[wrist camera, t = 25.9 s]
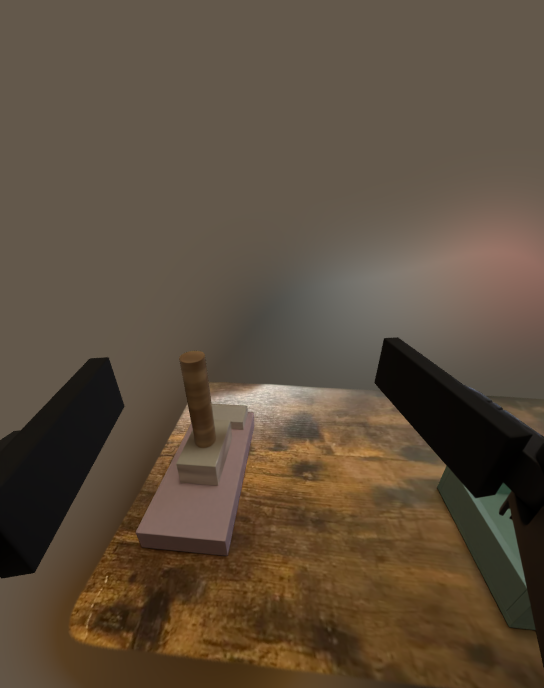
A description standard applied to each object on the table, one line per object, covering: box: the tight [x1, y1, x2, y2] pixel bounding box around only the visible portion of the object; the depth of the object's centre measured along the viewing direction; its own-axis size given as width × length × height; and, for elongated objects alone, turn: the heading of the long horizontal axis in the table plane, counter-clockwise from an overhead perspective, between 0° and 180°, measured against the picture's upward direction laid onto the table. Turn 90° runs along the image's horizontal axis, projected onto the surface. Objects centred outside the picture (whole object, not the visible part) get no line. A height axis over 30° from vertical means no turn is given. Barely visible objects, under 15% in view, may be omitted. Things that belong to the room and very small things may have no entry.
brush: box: [176, 351, 232, 486], centre depth 33 cm, size 8×5×17 cm, turn 175°
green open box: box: [437, 466, 536, 630], centre depth 28 cm, size 14×12×5 cm
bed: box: [136, 404, 254, 556], centre depth 37 cm, size 20×10×5 cm, turn 175°
